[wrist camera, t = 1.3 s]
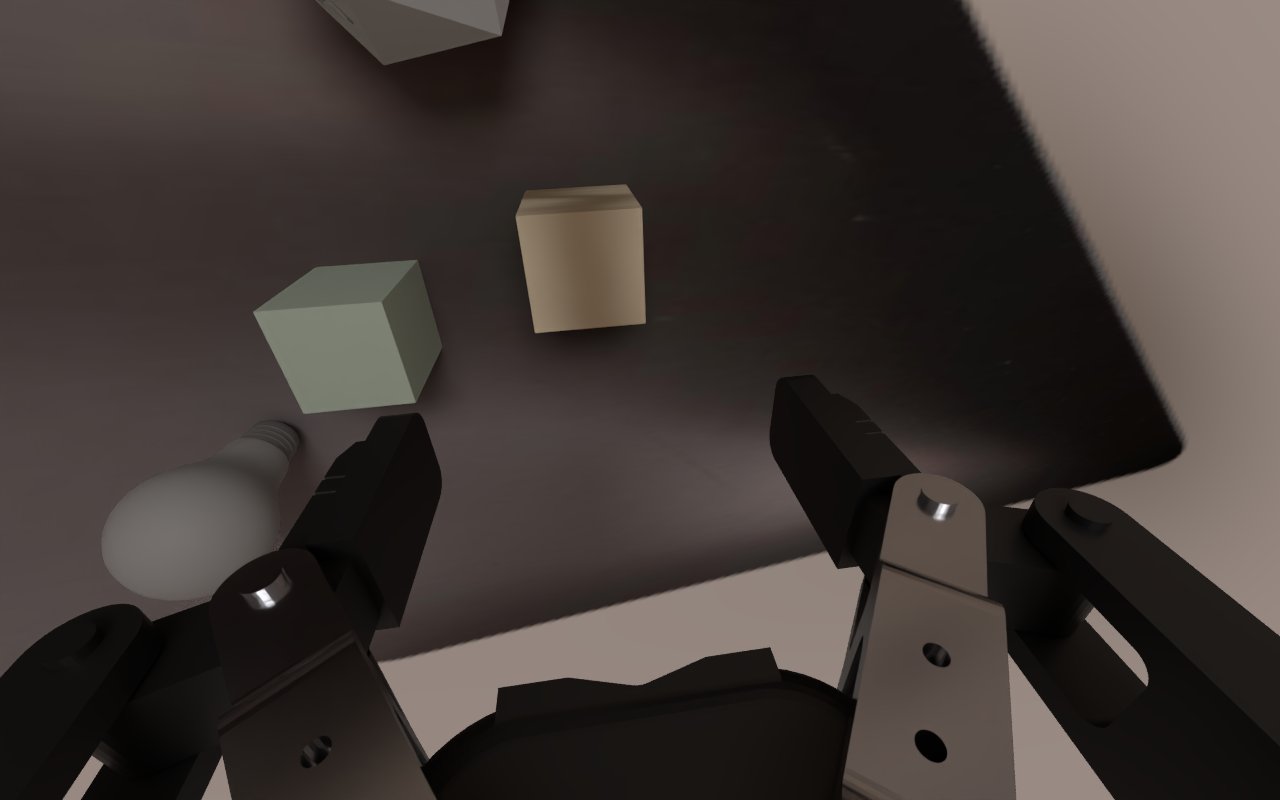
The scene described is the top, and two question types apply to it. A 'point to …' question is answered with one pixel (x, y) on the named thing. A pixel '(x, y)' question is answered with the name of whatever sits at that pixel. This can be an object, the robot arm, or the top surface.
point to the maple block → (583, 257)
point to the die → (417, 24)
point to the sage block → (353, 335)
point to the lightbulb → (201, 518)
